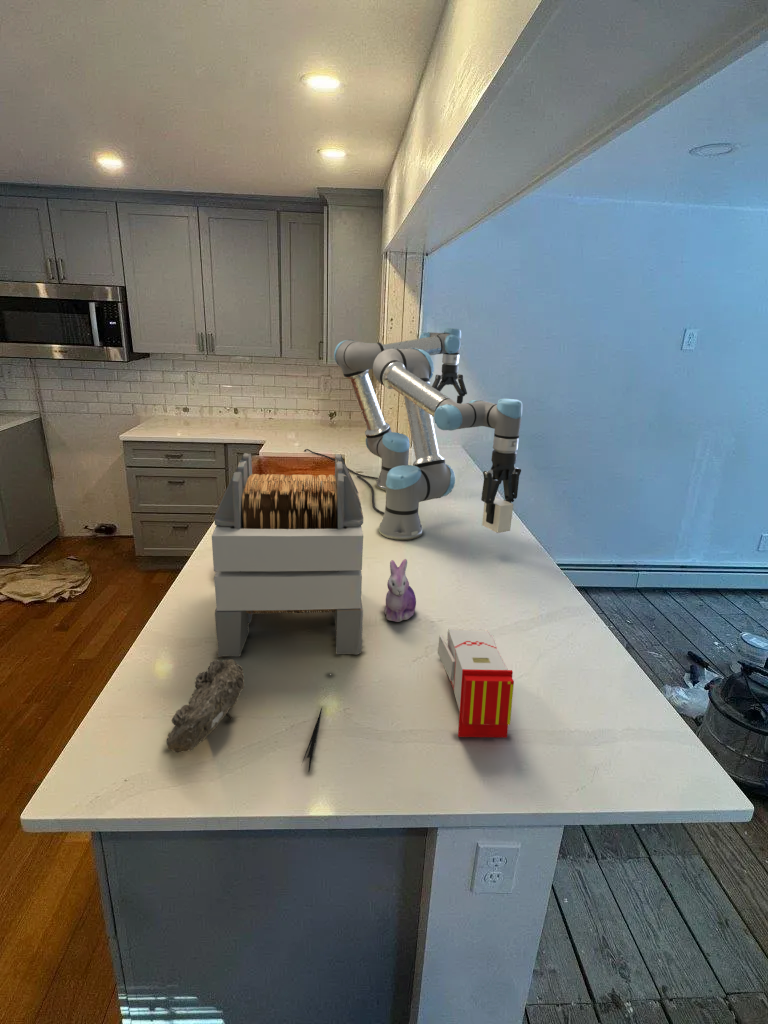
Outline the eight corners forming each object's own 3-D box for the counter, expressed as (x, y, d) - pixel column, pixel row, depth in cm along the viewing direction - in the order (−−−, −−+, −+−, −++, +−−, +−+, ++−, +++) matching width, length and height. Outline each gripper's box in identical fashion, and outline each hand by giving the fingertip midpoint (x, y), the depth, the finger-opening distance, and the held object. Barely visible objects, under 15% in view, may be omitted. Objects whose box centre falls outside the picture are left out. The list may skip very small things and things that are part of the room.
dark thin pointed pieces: (331, 679, 122) (336, 673, 122) (307, 777, 96) (313, 769, 95) (324, 675, 122) (329, 669, 121) (298, 772, 95) (304, 764, 95)
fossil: (192, 660, 117) (244, 628, 112) (224, 691, 120) (276, 661, 115) (142, 746, 98) (202, 712, 93) (182, 779, 101) (242, 748, 96)
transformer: (236, 587, 157) (228, 443, 143) (353, 586, 161) (357, 445, 147) (215, 659, 125) (203, 483, 111) (362, 655, 129) (368, 484, 115)
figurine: (392, 627, 141) (395, 572, 136) (374, 608, 149) (376, 556, 144) (425, 619, 145) (429, 566, 140) (405, 601, 154) (408, 550, 149)
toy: (488, 613, 130) (523, 677, 101) (484, 667, 133) (517, 744, 104) (435, 612, 130) (455, 676, 101) (432, 666, 133) (451, 743, 103)
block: (497, 533, 178) (500, 506, 175) (481, 525, 185) (484, 498, 182) (510, 530, 181) (513, 504, 178) (494, 522, 187) (497, 496, 184)
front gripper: (489, 455, 167) (481, 529, 174) (535, 450, 175) (526, 521, 183) (473, 450, 173) (466, 521, 181) (519, 445, 181) (510, 513, 189)
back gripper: (432, 364, 250) (428, 413, 257) (477, 364, 261) (472, 410, 269) (422, 363, 256) (419, 410, 263) (467, 362, 268) (463, 407, 275)
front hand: (496, 521), depth 182 cm, fingers closed on block, 5 cm apart
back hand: (446, 410), depth 266 cm, fingers open, 13 cm apart
